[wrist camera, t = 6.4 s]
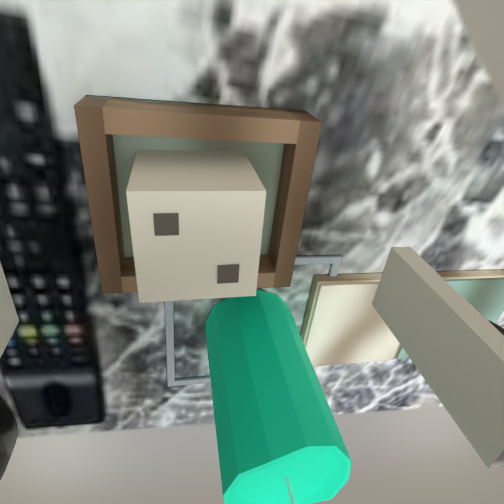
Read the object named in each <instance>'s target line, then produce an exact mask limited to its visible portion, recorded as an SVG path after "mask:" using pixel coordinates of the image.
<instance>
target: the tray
mask: <svg viewBox="0 0 504 504" xmlns="http://www.w3.org/2000/svg"><path fill="white" fill-rule="evenodd" d="M74 108H75V115H76V121H77V128H78V135H79V142H80V148H81V155H82V162H83V168H84V175H85V182H86V189H87V195H88V202H89V209H90V215H91V222H92V229H93V235H94V242H95V249H96V256H97V262H98V269H99V276H100V282H101V289H102V293H126V292H138V288H137V280H136V271H135V263H134V254H133V246H132V238H131V229H130V221H129V212H128V204H127V195H126V190H127V186H128V182H129V179H130V175H131V171H132V167H133V164H134V160H135V156H136V153H137V149H155V150H209V151H244V152H245V154H246V155H247V157H248V159H249V161H250V163H251V164H252V166H253V168H254V170H255V172H256V173H257V175H258V177H259V179H260V180H261V182H262V184H263V186H264V188H265V189H266V200H265V210H264V220H263V230H262V239H261V249H260V259H259V269H258V279H257V288H267V287H290V284H291V279H292V274H293V269H294V264H295V259H296V253H297V248H298V243H299V238H300V233H301V228H302V222H303V217H304V212H305V207H306V202H307V197H308V192H309V186H310V181H311V176H312V171H313V166H314V161H315V155H316V150H317V145H318V140H319V135H320V130H321V124H322V122H321V121H320V120H318V119H317V118H315V117H314V116H312V115H311V114H309V113H308V112H306V111H300V110H286V109H272V108H259V107H245V106H231V105H217V104H203V103H189V102H176V101H162V100H148V99H134V98H120V97H106V96H93V95H86V96H85V97H84V98H83V99H81V100H80V101H79V102H78V103H77V104H76V105H74Z"/></svg>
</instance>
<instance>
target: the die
mask: <svg viewBox="0 0 504 504" xmlns="http://www.w3.org/2000/svg"><path fill="white" fill-rule="evenodd" d="M126 195H127V204H128V212H129V221H130V229H131V238H132V246H133V254H134V263H135V271H136V280H137V288H138V297H139V303H147V302H164V301H180V300H196V299H212V298H228V297H244V296H256V289H257V279H258V269H259V259H260V249H261V239H262V230H263V220H264V210H265V200H266V189H265V188H264V186H263V184H262V182H261V180H260V179H259V177H258V175H257V173H256V172H255V170H254V168H253V166H252V164H251V163H250V161H249V159H248V157H247V155H246V154H245V152H244V151H209V150H155V149H137V153H136V156H135V160H134V164H133V167H132V171H131V175H130V179H129V182H128V186H127V190H126Z"/></svg>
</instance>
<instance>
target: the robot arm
mask: <svg viewBox="0 0 504 504" xmlns="http://www.w3.org/2000/svg"><path fill="white" fill-rule="evenodd" d="M372 305H373V307H374V308H375V309H376V311H377V312H378V314H379V315H380V317H381V318H382V319H383V321H384V322H385V324H386V325H387V326H388V328H389V329H390V331H391V332H392V333H393V335H394V336H395V338H396V339H397V340H398V342H399V343H400V345H401V346H402V348H403V349H404V350H405V352H406V353H407V355H408V356H409V357H410V359H411V360H412V362H413V363H414V364H415V366H416V367H417V369H418V370H419V372H420V373H421V374H422V376H423V377H424V379H425V380H426V381H427V383H428V384H429V386H430V387H431V388H432V390H433V391H434V393H435V394H436V395H437V397H438V398H439V400H440V401H441V403H442V404H443V405H444V407H445V408H446V410H447V411H448V412H449V414H450V415H451V417H452V418H453V419H454V421H455V422H456V424H457V425H458V427H459V428H460V429H461V431H462V432H463V434H464V435H465V436H466V438H467V439H468V440H469V442H470V443H471V445H472V446H473V448H474V449H475V450H476V452H477V453H478V455H479V456H480V458H481V459H482V460H483V462H484V463H485V465H486V466H487V467H488V468H494V467H500V466H504V329H503V328H502V327H500V326H498V325H497V324H495V323H494V322H492V321H488V320H487V319H486V318H485V317H484V316H482V315H481V314H480V313H479V312H478V311H477V310H476V309H475V308H474V307H473V306H472V305H471V304H470V303H469V302H468V301H467V300H465V299H464V298H463V297H462V296H461V295H460V294H459V293H458V292H457V291H456V290H455V289H454V288H453V287H452V286H451V285H450V284H449V283H447V282H446V281H445V280H444V279H443V278H442V277H441V276H440V275H439V274H438V273H437V272H436V271H435V270H434V269H433V268H432V267H431V266H429V265H428V264H427V263H426V262H425V261H424V260H423V259H422V258H421V257H420V256H419V255H418V254H417V253H416V252H415V251H414V250H413V249H411V248H410V247H391V250H390V253H389V256H388V259H387V262H386V264H385V267H384V270H383V273H382V276H381V279H380V281H379V284H378V287H377V290H376V293H375V296H374V298H373V301H372ZM18 322H19V319H18V316H17V313H16V309H15V306H14V303H13V300H12V297H11V294H10V291H9V287H8V284H7V281H6V278H5V275H4V272H3V269H2V265H1V262H0V358H1V356H2V354H3V352H4V350H5V348H6V346H7V344H8V342H9V340H10V338H11V336H12V334H13V332H14V330H15V328H16V326H17V324H18ZM16 439H17V427H16V422H15V419H14V417H13V415H12V413H11V412H10V410H9V409H8V407H7V406H6V405H5V404H4V403H3V401H2V400H1V399H0V480H1V478H2V476H3V474H4V472H5V469H6V467H7V464H8V462H9V459H10V456H11V454H12V451H13V448H14V446H15V443H16Z"/></svg>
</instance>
